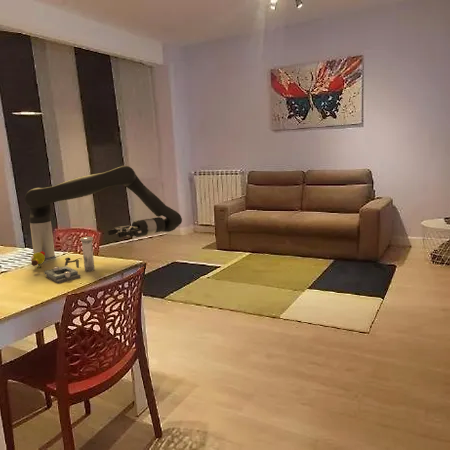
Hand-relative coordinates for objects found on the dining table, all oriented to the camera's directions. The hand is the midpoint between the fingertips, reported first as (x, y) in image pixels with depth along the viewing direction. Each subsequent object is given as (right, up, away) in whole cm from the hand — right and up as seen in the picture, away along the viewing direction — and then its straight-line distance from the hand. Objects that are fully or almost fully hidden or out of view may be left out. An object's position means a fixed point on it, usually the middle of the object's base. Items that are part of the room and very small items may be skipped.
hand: (112, 233), depth 178 cm
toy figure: (-33, -15, +1) cm, 36 cm away
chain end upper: (-17, -17, -14) cm, 27 cm away
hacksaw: (-17, -14, +4) cm, 23 cm away
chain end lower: (-17, -17, -14) cm, 27 cm away
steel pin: (-8, -15, -5) cm, 18 cm away
